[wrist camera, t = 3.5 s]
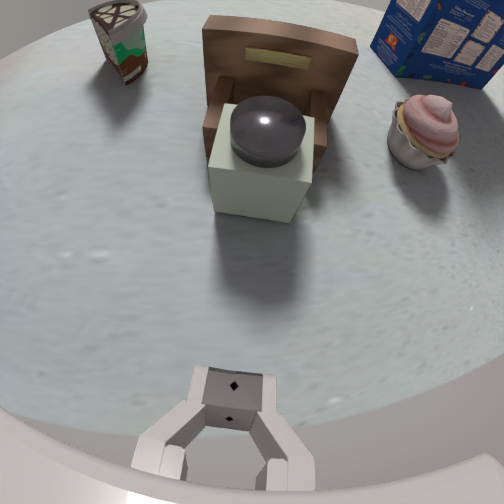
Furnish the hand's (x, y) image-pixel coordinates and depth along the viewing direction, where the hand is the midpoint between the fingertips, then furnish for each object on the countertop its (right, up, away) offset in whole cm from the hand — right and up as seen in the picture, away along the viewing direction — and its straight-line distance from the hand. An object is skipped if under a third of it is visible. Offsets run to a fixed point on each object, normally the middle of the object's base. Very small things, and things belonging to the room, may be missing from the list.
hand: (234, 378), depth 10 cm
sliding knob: (+1, +11, +18) cm, 21 cm away
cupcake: (+20, +18, +21) cm, 34 cm away
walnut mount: (+2, +17, +19) cm, 26 cm away
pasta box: (+35, +39, +27) cm, 59 cm away
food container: (-16, +32, +22) cm, 42 cm away
